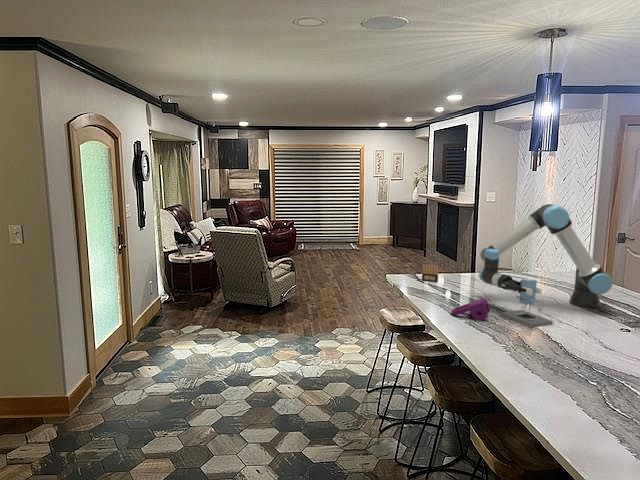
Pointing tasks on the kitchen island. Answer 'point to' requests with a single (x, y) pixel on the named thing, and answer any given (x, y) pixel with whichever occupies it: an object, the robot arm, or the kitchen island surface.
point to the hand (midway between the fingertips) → (536, 291)
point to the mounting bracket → (474, 309)
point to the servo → (526, 297)
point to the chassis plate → (531, 322)
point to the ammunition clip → (430, 273)
